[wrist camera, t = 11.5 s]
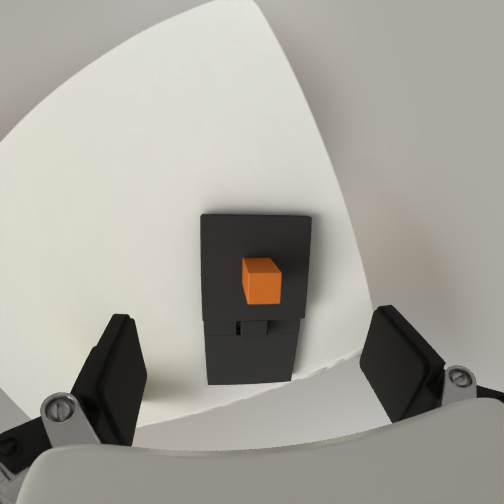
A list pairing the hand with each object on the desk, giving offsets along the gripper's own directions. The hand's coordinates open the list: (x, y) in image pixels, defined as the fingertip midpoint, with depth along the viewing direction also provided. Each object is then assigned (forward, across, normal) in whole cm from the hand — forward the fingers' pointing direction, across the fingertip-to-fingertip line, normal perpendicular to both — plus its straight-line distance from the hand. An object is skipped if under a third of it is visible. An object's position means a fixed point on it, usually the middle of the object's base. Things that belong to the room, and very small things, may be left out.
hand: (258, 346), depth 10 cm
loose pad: (+22, -2, +7) cm, 23 cm away
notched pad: (+22, -2, +18) cm, 29 cm away
